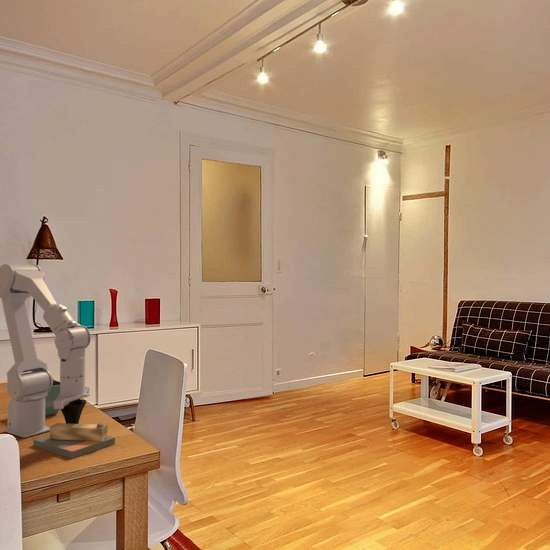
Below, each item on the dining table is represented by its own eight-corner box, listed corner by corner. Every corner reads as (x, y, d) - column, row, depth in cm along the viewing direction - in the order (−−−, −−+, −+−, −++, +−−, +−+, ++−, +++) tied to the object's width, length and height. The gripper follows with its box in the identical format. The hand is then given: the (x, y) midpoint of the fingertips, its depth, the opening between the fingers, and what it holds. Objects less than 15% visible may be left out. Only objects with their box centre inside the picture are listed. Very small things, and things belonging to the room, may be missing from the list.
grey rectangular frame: (33, 445, 122) (33, 438, 122) (76, 432, 132) (76, 426, 132) (71, 458, 114) (71, 451, 114) (114, 443, 124) (114, 437, 124)
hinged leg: (107, 437, 123) (107, 422, 123) (102, 441, 120) (102, 426, 120) (56, 435, 124) (56, 420, 124) (49, 439, 121) (49, 424, 121)
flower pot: (52, 408, 155) (52, 379, 155) (67, 413, 149) (67, 383, 149) (23, 414, 148) (23, 383, 148) (37, 420, 142) (37, 388, 142)
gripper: (74, 382, 117) (74, 440, 117) (100, 370, 132) (100, 422, 132) (45, 381, 118) (44, 439, 118) (74, 369, 132) (74, 421, 132)
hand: (72, 430), depth 125 cm, fingers closed
